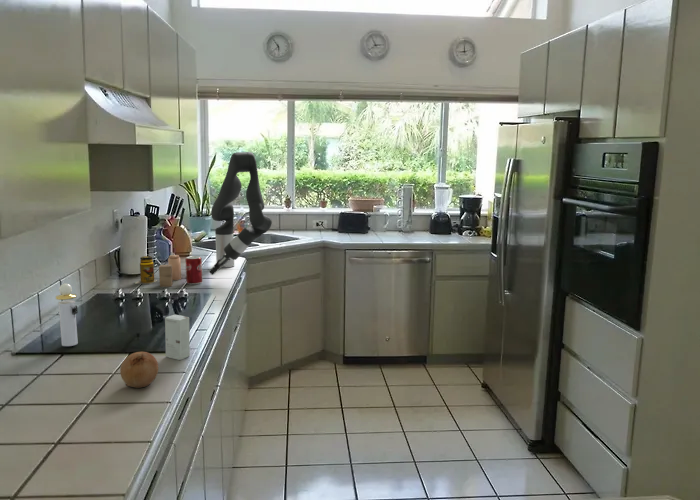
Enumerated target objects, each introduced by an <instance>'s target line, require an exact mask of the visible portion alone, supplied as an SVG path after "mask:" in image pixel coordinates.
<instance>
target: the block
mask: <svg viewBox="0 0 700 500" xmlns="http://www.w3.org/2000/svg"><path fill="white" fill-rule="evenodd" d="M158 272H159V273H158V275H159V277H158V278H159V287H160V288H166V287H168V288H169V287H172V286H173V283H174V282H173V281H174V280H172V265H168V264H161V265H160V264H159V267H158Z"/></svg>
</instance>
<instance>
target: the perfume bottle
mask: <svg viewBox="0 0 700 500" xmlns="http://www.w3.org/2000/svg"><path fill="white" fill-rule="evenodd" d="M58 291H59V293H60V294H57V295H56V296H55V300H57V301H58V312H59V314H58V315H59V325H60V326H59V327H60V328H59V329H60V339H61V346H62V347H72V346H73V347H74V346H76V345H78V343H79V341H78V328H77V318H76V317H77V315H76V314H78V313H79V312H78V305H76V304H75V303H76V301H75V300H73V299H77V294H76V293H72V292H73V288H72V285H71V284H69V283H65V282H64V283H62V284H60V286H59V288H58Z"/></svg>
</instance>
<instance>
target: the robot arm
mask: <svg viewBox="0 0 700 500" xmlns="http://www.w3.org/2000/svg"><path fill="white" fill-rule="evenodd" d="M256 160H257V159H256V157H255V154H254V153H253V152H249V151H238V152H233V153H232V154H231V156H230V159H229V163H228V167H227V170H226V171H227V172H226V174H225V176H224V177H225V178H224V180H223V181H222V185H221V187H220V190H219V193H218V195H217V197H216V199H215V201H214V202H213V205H212V207H211V211H210V213H211V214H210V215H211V218H212V220H213V221H216V222H224V223H223V224H222V225H220V226H218V227H216V228H215V231H214V233H215V255H216V256H215V264H214V265H213V267H212V268H211V269H210V270H209V273H210V275H212V276H214V275H215V273H216V272H218V271H219V270H220V269H221V268H231V267H235V260H236V261H237V259H238V258H239V257H240V256H241V255H242V254H243V253H245V251H246V250H247V249H248V247H249V246H250V245H251V244H252V243H253V242H254V241H255V240H256V239H258V238H260V237H261V236H262V235H264V234H266V232H268V231H269V230H270V229H271V227H272V225H273V224H272V223H273V221H272V219H271V217H269V216H268V215H266V214H264V212H263V210H264V209H265V202H264V199H263V198H264V197H263V196H262V191H261V187H260V180H259V179H260V178H259V173H258V165H257V161H256ZM238 173H249V176H250V179H249V183H248V184H247V187H246V192H245V197H246V201H247V202H246V203H247V205H248V208H249V209H248V215H249V222H250V225H251V226H249V227H248V226H247V227H244V228H242V230H241V231H240V232H239V233H238V234H237V235H236V236H235V237H234V221H235V219H234V217H235V213H234V212H235V211H234V210H235V209H234V205H233V204H232V202H233V201H235V200H236V199H237V198H239V195H240V193H241V190H242V188H243V187H242V181H241V180H240V178H239V177H238Z"/></svg>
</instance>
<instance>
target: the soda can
mask: <svg viewBox="0 0 700 500" xmlns="http://www.w3.org/2000/svg"><path fill="white" fill-rule="evenodd" d="M202 259H203V257H201V256H199V255H195V256H194V255H192V256H186V257H185V282H186V284H187V285H200V284H202V283H203V282H204V281H203V280H204V279H203V260H202Z"/></svg>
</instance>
